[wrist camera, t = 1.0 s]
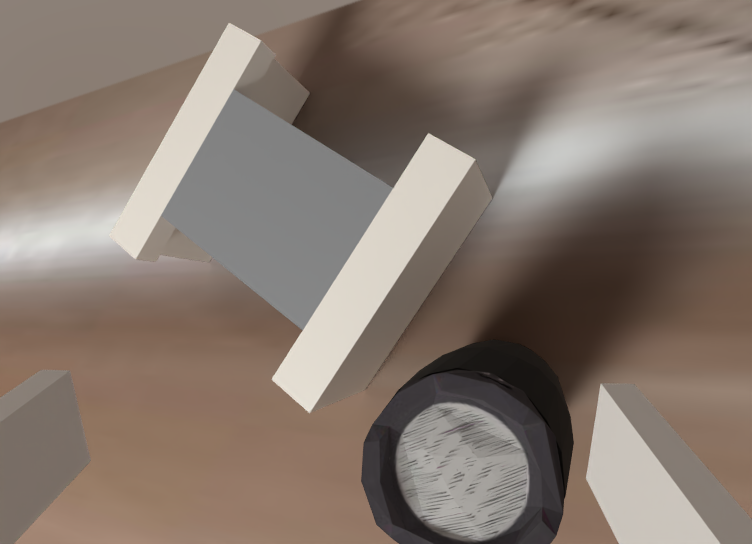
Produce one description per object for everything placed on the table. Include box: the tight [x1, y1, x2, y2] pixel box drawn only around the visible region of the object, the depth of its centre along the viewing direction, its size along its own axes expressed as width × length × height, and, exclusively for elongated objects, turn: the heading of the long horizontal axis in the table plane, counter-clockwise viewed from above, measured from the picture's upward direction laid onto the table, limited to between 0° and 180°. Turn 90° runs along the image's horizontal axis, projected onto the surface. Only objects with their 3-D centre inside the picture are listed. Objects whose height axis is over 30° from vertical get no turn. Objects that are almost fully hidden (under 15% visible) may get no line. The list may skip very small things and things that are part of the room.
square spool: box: [109, 23, 492, 413], centre depth 38 cm, size 22×19×10 cm
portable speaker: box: [361, 340, 574, 544], centre depth 27 cm, size 9×9×20 cm
